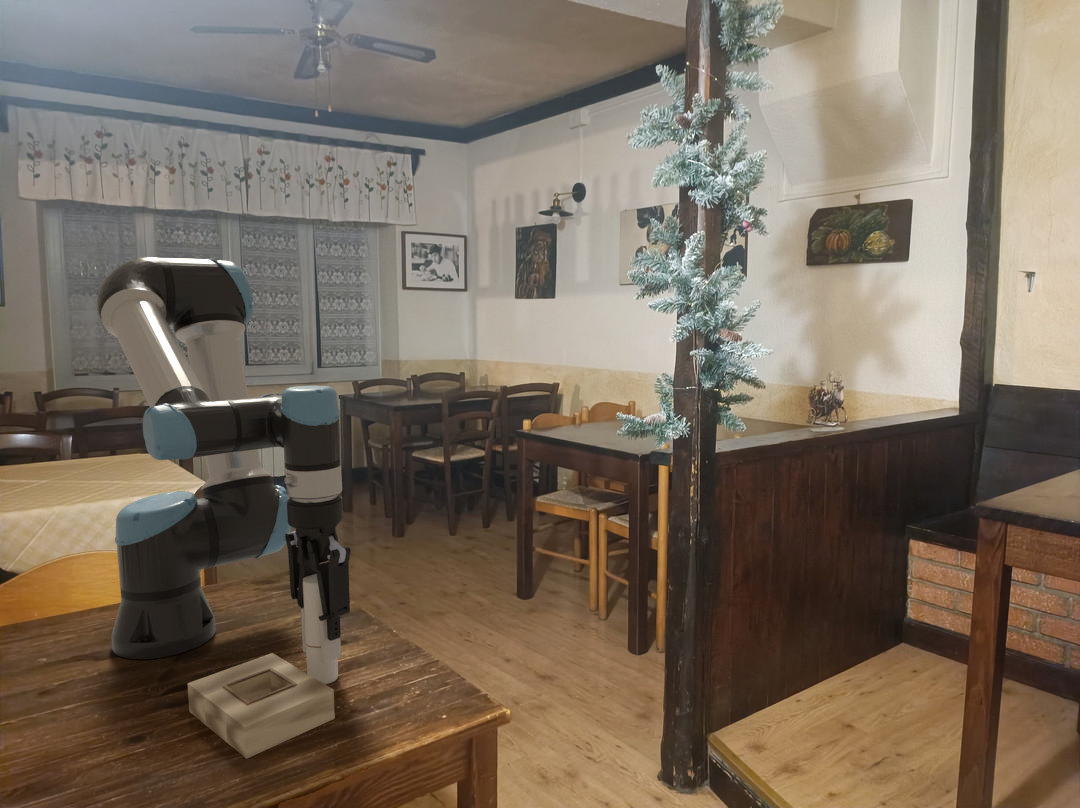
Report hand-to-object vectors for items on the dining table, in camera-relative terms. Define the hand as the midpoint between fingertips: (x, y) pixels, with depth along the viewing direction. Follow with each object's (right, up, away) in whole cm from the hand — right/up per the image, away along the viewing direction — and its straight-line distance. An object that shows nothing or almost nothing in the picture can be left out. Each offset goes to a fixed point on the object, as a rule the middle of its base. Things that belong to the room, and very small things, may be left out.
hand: (321, 653), depth 109 cm
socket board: (-5, -5, -10) cm, 12 cm away
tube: (0, -4, 0) cm, 4 cm away
